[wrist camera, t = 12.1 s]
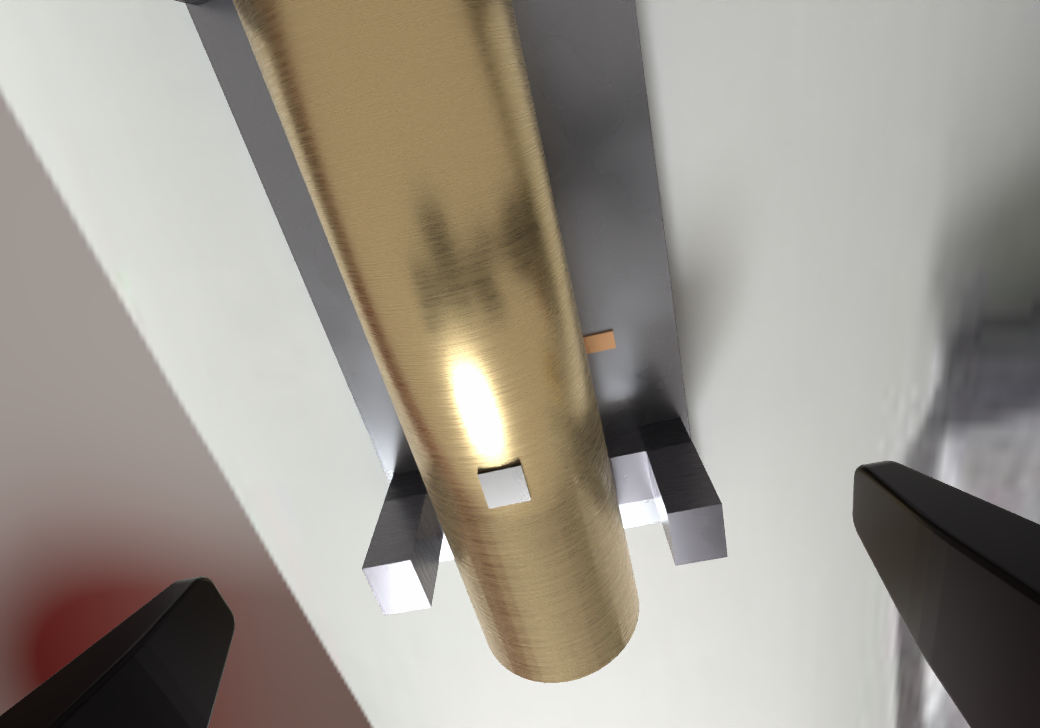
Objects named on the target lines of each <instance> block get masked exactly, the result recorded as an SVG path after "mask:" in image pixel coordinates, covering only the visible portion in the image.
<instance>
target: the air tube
mask: <svg viewBox="0 0 1040 728" xmlns="http://www.w3.org/2000/svg"><path fill="white" fill-rule="evenodd" d="M233 3H234V5H235V8H236V10H237V13H238V15H239V18H240V20H241V23H242V25H243V28H244V30H245V33H246V35H247V38H248V40H249V43H250V45H251V48H252V50H253V53H254V55H255V58H256V61H257V63H258V66H259V68H260V71H261V73H262V76H263V78H264V81H265V83H266V86H267V88H268V91H269V93H270V96H271V98H272V101H273V103H274V106H275V108H276V111H277V113H278V116H279V118H280V121H281V124H282V126H283V129H284V131H285V134H286V136H287V139H288V141H289V144H290V146H291V149H292V151H293V154H294V156H295V159H296V161H297V164H298V166H299V169H300V171H301V174H302V176H303V179H304V182H305V184H306V187H307V189H308V192H309V194H310V197H311V199H312V202H313V204H314V207H315V209H316V212H317V214H318V217H319V219H320V222H321V224H322V227H323V229H324V232H325V234H326V237H327V239H328V242H329V245H330V247H331V250H332V252H333V255H334V257H335V260H336V262H337V265H338V267H339V270H340V272H341V275H342V277H343V280H344V282H345V285H346V287H347V290H348V292H349V295H350V297H351V300H352V303H353V305H354V308H355V310H356V313H357V315H358V318H359V320H360V323H361V325H362V328H363V330H364V333H365V335H366V338H367V340H368V343H369V345H370V348H371V350H372V353H373V355H374V358H375V360H376V363H377V366H378V368H379V371H380V373H381V376H382V378H383V381H384V383H385V386H386V388H387V391H388V393H389V396H390V398H391V401H392V403H393V406H394V408H395V411H396V413H397V416H398V418H399V421H400V424H401V426H402V429H403V431H404V434H405V436H406V439H407V441H408V444H409V446H410V449H411V451H412V454H413V456H414V459H415V461H416V464H417V466H418V469H419V471H420V474H421V476H422V479H423V482H424V484H425V487H426V489H427V492H428V494H429V497H430V499H431V502H432V504H433V507H434V509H435V512H436V514H437V517H438V519H439V522H440V524H441V527H442V529H443V532H444V534H445V537H446V539H447V542H448V545H449V547H450V550H451V552H452V555H453V557H454V560H455V562H456V565H457V567H458V570H459V572H460V575H461V577H462V580H463V582H464V585H465V587H466V590H467V592H468V595H469V597H470V600H471V603H472V605H473V608H474V610H475V613H476V615H477V618H478V620H479V623H480V625H481V628H482V630H483V633H484V635H485V638H486V640H487V643H488V645H489V648H490V649H491V651H492V653H493V655H494V656H495V657H496V659H497V660H498V661H499V662H500V663H501V664H502V665H503V666H504V667H505V668H506V669H508V670H510V671H511V672H513V673H514V674H516V675H518V676H520V677H523V678H526V679H529V680H532V681H538V682H544V683H558V682H567V681H571V680H575V679H579V678H582V677H585V676H587V675H590V674H592V673H594V672H596V671H598V670H600V669H601V668H602V667H604V666H605V665H607V664H608V663H610V662H611V661H612V660H613V659H614V658H615V657H616V656H618V654H619V653H620V652H621V651H622V650H623V649H624V648H625V646H626V645H627V643H628V642H629V640H630V639H631V636H632V634H633V632H634V630H635V627H636V624H637V621H638V615H639V599H638V593H637V588H636V584H635V579H634V574H633V570H632V565H631V560H630V555H629V551H628V546H627V541H626V537H625V532H624V527H623V522H622V518H621V513H620V508H619V504H618V499H617V494H616V490H615V485H614V480H613V475H612V471H611V466H610V461H609V457H608V452H607V447H606V442H605V438H604V433H603V428H602V424H601V419H600V414H599V409H598V405H597V400H596V395H595V391H594V386H593V381H592V377H591V372H590V367H589V362H588V358H587V353H586V348H585V344H584V339H583V334H582V329H581V325H580V320H579V315H578V311H577V306H576V301H575V296H574V292H573V287H572V282H571V278H570V273H569V268H568V263H567V259H566V254H565V249H564V245H563V240H562V235H561V231H560V226H559V221H558V216H557V212H556V207H555V202H554V198H553V193H552V188H551V183H550V179H549V174H548V169H547V165H546V160H545V155H544V150H543V146H542V141H541V136H540V132H539V127H538V122H537V117H536V113H535V108H534V103H533V99H532V94H531V89H530V85H529V80H528V75H527V70H526V66H525V61H524V56H523V52H522V47H521V42H520V37H519V33H518V28H517V23H516V19H515V14H514V9H513V4H512V0H233Z"/></svg>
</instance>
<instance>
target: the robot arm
mask: <svg viewBox="0 0 1040 728" xmlns="http://www.w3.org/2000/svg"><path fill="white" fill-rule="evenodd" d="M852 513H853V522H854V526H855V528H856V531H857V533H858V535H859V537H860V539H861V541H862V543H863V545H864V547H865V549H866V551H867V553H868V554H869V556H870V558H871V560H872V562H873V564H874V566H875V568H876V570H877V572H878V573H879V575H880V577H881V579H882V581H883V583H884V585H885V587H886V589H887V591H888V592H889V594H890V596H891V598H892V600H893V602H894V604H895V606H896V608H897V610H898V612H899V613H900V615H901V617H902V619H903V621H904V623H905V625H906V627H907V629H908V630H909V632H910V634H911V636H912V638H913V639H914V641H915V643H916V645H917V646H918V648H919V650H920V651H921V653H922V654H923V656H924V658H925V659H926V661H927V662H928V664H929V665H930V667H931V669H932V670H933V672H934V673H935V675H936V676H937V678H938V679H939V681H940V682H941V684H942V685H943V687H944V688H945V690H946V691H947V693H948V694H949V696H950V697H951V699H952V700H953V702H954V703H955V705H956V706H957V708H958V709H959V711H960V712H961V714H962V715H963V717H964V718H965V720H966V721H967V723H968V724H969V726H970V727H971V728H1040V525H1039V524H1037V523H1035V522H1032V521H1030V520H1028V519H1025V518H1023V517H1021V516H1019V515H1016V514H1014V513H1012V512H1009V511H1007V510H1005V509H1003V508H1000V507H998V506H996V505H993V504H991V503H989V502H987V501H984V500H982V499H980V498H977V497H975V496H973V495H970V494H968V493H966V492H964V491H961V490H959V489H957V488H954V487H952V486H950V485H948V484H945V483H943V482H941V481H938V480H936V479H934V478H931V477H929V476H927V475H925V474H922V473H920V472H918V471H915V470H913V469H911V468H909V467H906V466H904V465H902V464H899V463H897V462H894V461H882V462H876V463H871V464H865V465H861V466H859V467H858V468H857V469H856V471H855V475H854V490H853V512H852ZM234 630H235V620H234V616H233V613H232V611H231V610H230V608H229V606H228V605H227V603H226V602H225V600H224V598H223V597H222V595H221V594H220V592H219V591H218V589H217V588H216V586H215V584H214V583H213V582H212V580H210V579H209V578H207V577H202V576H201V577H194V578H189V579H182V580H179V581H177V582H175V583H173V584H171V585H170V586H169V587H168V588H166V589H165V590H164V591H162V592H161V593H160V594H158V595H157V596H156V597H154V598H153V599H152V600H151V601H149V602H148V603H147V604H145V605H144V606H143V607H142V608H140V609H139V610H138V611H136V612H135V613H134V614H132V615H131V616H130V617H128V618H127V619H126V620H125V621H123V622H122V623H121V624H119V625H118V626H117V627H116V628H114V629H113V630H112V631H110V632H109V633H108V634H106V635H105V636H104V637H102V638H101V639H100V640H98V641H97V642H96V643H95V644H93V645H92V646H91V647H89V648H88V649H87V650H86V651H84V652H83V653H82V654H80V655H79V656H78V657H76V658H75V659H74V660H72V661H71V662H70V663H69V664H67V665H66V666H65V667H63V668H62V669H61V670H59V671H58V672H57V673H56V674H54V675H53V676H52V677H50V678H49V679H48V680H46V681H45V682H44V683H42V684H41V685H40V686H39V687H37V688H36V689H35V690H34V691H32V692H31V693H30V694H28V695H27V696H26V697H24V698H23V699H22V700H20V701H19V702H18V703H16V704H15V705H14V706H13V707H12V708H10V709H9V710H7V711H6V712H5V713H3V714H2V715H1V716H0V728H208V726H209V723H210V719H211V715H212V711H213V708H214V704H215V701H216V697H217V693H218V689H219V686H220V682H221V678H222V675H223V671H224V667H225V663H226V660H227V656H228V653H229V649H230V645H231V641H232V637H233V634H234Z"/></svg>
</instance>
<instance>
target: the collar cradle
mask: <svg viewBox="0 0 1040 728" xmlns="http://www.w3.org/2000/svg"><path fill="white" fill-rule="evenodd" d="M175 1H179V2H183V3H186V6H187V8H188V10H189V13H190V15H191V17H192V20H193V22H194V24H195V27H196V29H197V32H198V34H199V36H200V39H201V41H202V43H203V46H204V48H205V50H206V53H207V55H208V57H209V60H210V62H211V64H212V67H213V69H214V71H215V74H216V76H217V79H218V81H219V83H220V86H221V88H222V90H223V93H224V95H225V97H226V100H227V102H228V104H229V107H230V109H231V111H232V114H233V116H234V118H235V121H236V123H237V125H238V128H239V130H240V133H241V135H242V137H243V140H244V142H245V144H246V147H247V149H248V151H249V154H250V156H251V158H252V161H253V163H254V165H255V168H256V170H257V172H258V175H259V177H260V180H261V182H262V184H263V187H264V189H265V191H266V194H267V196H268V198H269V201H270V203H271V205H272V208H273V210H274V212H275V215H276V217H277V219H278V222H279V224H280V227H281V229H282V231H283V234H284V236H285V238H286V241H287V243H288V245H289V248H290V250H291V252H292V255H293V257H294V259H295V262H296V264H297V266H298V269H299V271H300V274H301V276H302V278H303V281H304V283H305V285H306V288H307V290H308V292H309V295H310V297H311V299H312V302H313V304H314V306H315V309H316V311H317V313H318V316H319V318H320V321H321V323H322V325H323V328H324V330H325V332H326V335H327V337H328V339H329V342H330V344H331V346H332V349H333V351H334V353H335V356H336V358H337V360H338V363H339V365H340V367H341V370H342V372H343V375H344V377H345V379H346V382H347V384H348V386H349V389H350V391H351V393H352V396H353V398H354V400H355V403H356V405H357V407H358V410H359V412H360V414H361V417H362V419H363V422H364V424H365V426H366V429H367V431H368V433H369V436H370V438H371V440H372V443H373V445H374V447H375V450H376V452H377V454H378V457H379V459H380V461H381V464H382V466H383V469H384V471H385V473H386V476H387V478H388V480H389V483H390V486H389V489H388V492H387V495H386V498H385V501H384V504H383V507H382V510H381V513H380V516H379V519H378V522H377V525H376V528H375V531H374V534H373V537H372V540H371V543H370V546H369V549H368V552H367V555H366V558H365V561H364V564H363V567H362V570H363V572H364V574H365V576H366V578H367V580H368V582H369V584H370V586H371V589H372V591H373V593H374V595H375V597H376V599H377V601H378V603H379V605H380V607H381V609H382V611H383V613H384V615H389V614H395V613H401V612H407V611H413V610H418V609H424V608H430V607H431V604H432V599H433V593H434V587H435V581H436V576H437V570H438V564H439V562H441V561H446V560H452V559H454V557H453V555H452V552H451V550H450V547H449V545H448V542H447V539H446V537H445V534H444V532H443V529H442V527H441V524H440V522H439V519H438V517H437V514H436V512H435V509H434V507H433V504H432V502H431V499H430V497H429V494H428V492H427V489H426V487H425V484H424V482H423V479H422V476H421V474H420V471H419V469H418V466H417V464H416V461H415V459H414V456H413V454H412V451H411V449H410V446H409V444H408V441H407V439H406V436H405V434H404V431H403V429H402V426H401V424H400V421H399V418H398V416H397V413H396V411H395V408H394V406H393V403H392V401H391V398H390V396H389V393H388V391H387V388H386V386H385V383H384V381H383V378H382V376H381V373H380V371H379V368H378V366H377V363H376V360H375V358H374V355H373V353H372V350H371V348H370V345H369V343H368V340H367V338H366V335H365V333H364V330H363V328H362V325H361V323H360V320H359V318H358V315H357V313H356V310H355V308H354V305H353V303H352V300H351V297H350V295H349V292H348V290H347V287H346V285H345V282H344V280H343V277H342V275H341V272H340V270H339V267H338V265H337V262H336V260H335V257H334V255H333V252H332V250H331V247H330V245H329V242H328V239H327V237H326V234H325V232H324V229H323V227H322V224H321V222H320V219H319V217H318V214H317V212H316V209H315V207H314V204H313V202H312V199H311V197H310V194H309V192H308V189H307V187H306V184H305V182H304V179H303V176H302V174H301V171H300V169H299V166H298V164H297V161H296V159H295V156H294V154H293V151H292V149H291V146H290V144H289V141H288V139H287V136H286V134H285V131H284V129H283V126H282V124H281V121H280V118H279V116H278V113H277V111H276V108H275V106H274V103H273V101H272V98H271V96H270V93H269V91H268V88H267V86H266V83H265V81H264V78H263V76H262V73H261V71H260V68H259V66H258V63H257V61H256V58H255V55H254V53H253V50H252V48H251V45H250V43H249V40H248V38H247V35H246V33H245V30H244V28H243V25H242V23H241V20H240V18H239V15H238V13H237V10H236V8H235V5H234V3H233V0H175ZM512 4H513V9H514V14H515V19H516V23H517V28H518V33H519V37H520V42H521V47H522V52H523V56H524V61H525V66H526V70H527V75H528V80H529V85H530V89H531V94H532V99H533V103H534V108H535V113H536V117H537V122H538V127H539V132H540V136H541V141H542V146H543V150H544V155H545V160H546V165H547V169H548V174H549V179H550V183H551V188H552V193H553V198H554V202H555V207H556V212H557V216H558V221H559V226H560V231H561V235H562V240H563V245H564V249H565V254H566V259H567V263H568V268H569V273H570V278H571V282H572V287H573V292H574V296H575V301H576V306H577V311H578V315H579V320H580V325H581V329H582V334H583V339H584V344H585V348H586V353H587V358H588V362H589V367H590V372H591V377H592V381H593V386H594V391H595V395H596V400H597V405H598V409H599V414H600V419H601V424H602V428H603V433H604V438H605V442H606V447H607V452H608V457H609V461H610V466H611V471H612V475H613V480H614V485H615V490H616V494H617V499H618V504H619V508H620V513H621V518H622V522H623V527H624V529H625V528H630V527H636V526H641V525H647V524H652V523H658V522H662V525H663V528H664V531H665V534H666V537H667V540H668V543H669V547H670V550H671V553H672V556H673V559H674V562H675V565H682V564H688V563H694V562H700V561H706V560H711V559H717V558H723V557H727V548H726V539H725V529H724V520H723V510H722V503H721V501H720V499H719V497H718V495H717V493H716V491H715V489H714V487H713V484H712V482H711V480H710V478H709V476H708V474H707V472H706V470H705V468H704V466H703V464H702V461H701V459H700V457H699V455H698V453H697V451H696V449H695V447H694V445H693V443H692V441H691V438H690V430H689V422H688V414H687V406H686V399H685V391H684V383H683V375H682V367H681V359H680V352H679V344H678V336H677V328H676V320H675V313H674V305H673V297H672V289H671V281H670V274H669V266H668V258H667V250H666V242H665V235H664V227H663V219H662V211H661V203H660V196H659V188H658V180H657V172H656V164H655V157H654V149H653V141H652V133H651V125H650V118H649V110H648V102H647V94H646V86H645V79H644V71H643V63H642V55H641V47H640V40H639V32H638V24H637V16H636V8H635V1H634V0H512Z"/></svg>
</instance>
